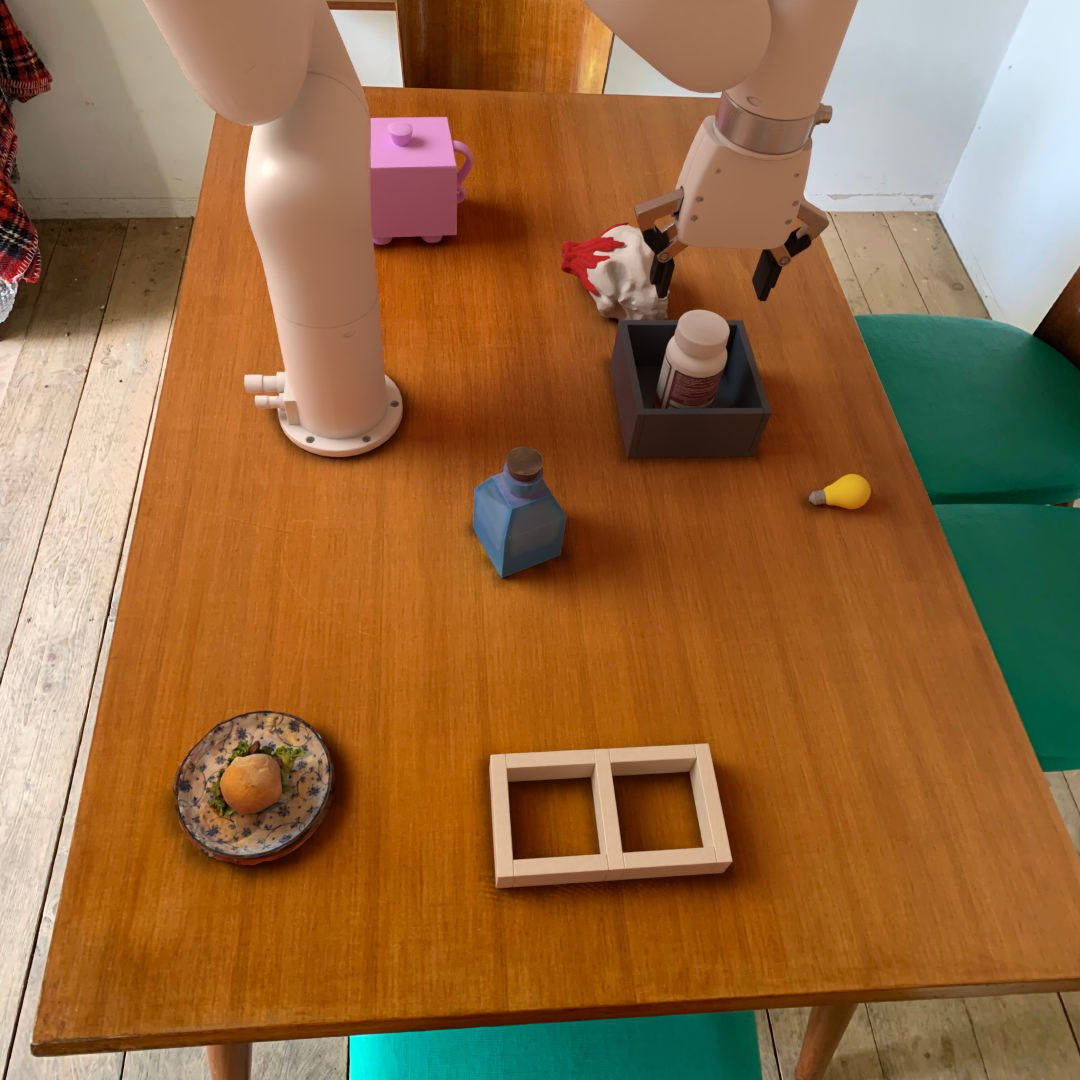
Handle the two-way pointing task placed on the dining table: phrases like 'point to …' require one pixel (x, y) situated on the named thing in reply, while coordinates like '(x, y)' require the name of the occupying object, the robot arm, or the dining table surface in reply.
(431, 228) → the teapot
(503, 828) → the frame
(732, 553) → the dining table surface
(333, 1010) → the dining table surface
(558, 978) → the dining table surface
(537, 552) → the perfume bottle
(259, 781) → the burger
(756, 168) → the robot arm
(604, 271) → the candle
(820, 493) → the light bulb
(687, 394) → the pill bottle
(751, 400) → the dark grey open box
